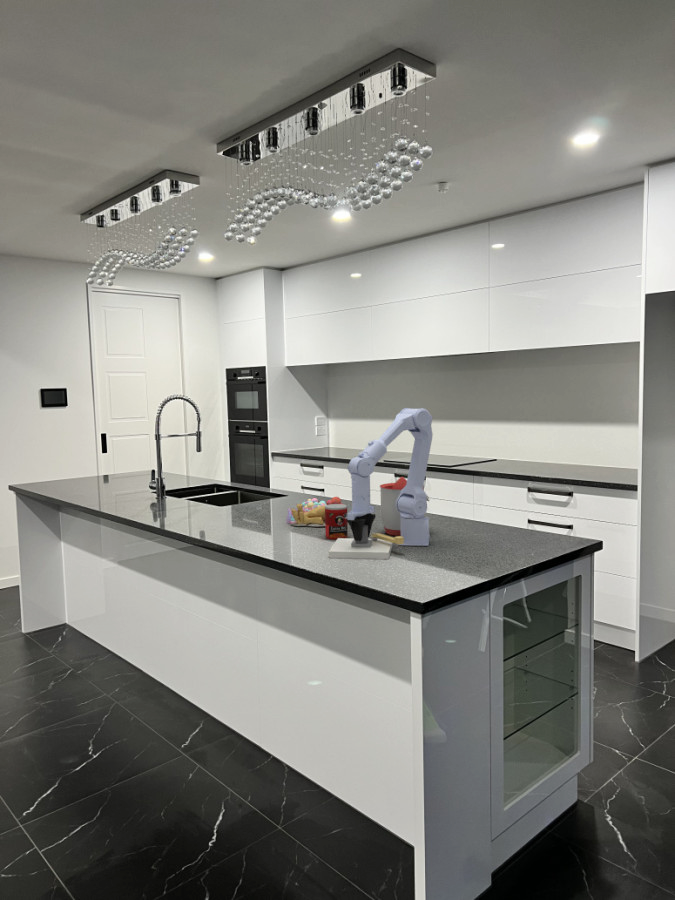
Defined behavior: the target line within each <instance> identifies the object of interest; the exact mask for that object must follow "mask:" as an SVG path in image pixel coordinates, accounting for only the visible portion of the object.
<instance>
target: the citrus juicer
mask: <svg viewBox="0 0 675 900" xmlns="http://www.w3.org/2000/svg"><path fill="white" fill-rule="evenodd" d="M406 484H407V479H406V478H405V477H404V476H401V477H399V478H398V479H397V480H396V481H395V482H389V483H388V482H387V483H382V484H380V485H379V488H380V516H381V517H380V518H381V520H382V521H381V522H382V525H383V528H384V531H385V533H386V535H387V534H388V535H389V536H390V537H398V536H401V516H400V512H399V511H398V510H397V508H396V501H397V499H398V497H399V496H400V492H401V490H402V489H403V488H404V487H405V486H406ZM424 485H425V484H424ZM424 485H423V490H424V489H425V488H424ZM424 491H425V490H424ZM413 497H414V496H413ZM426 501H427V502H430V501H431V499H430V498H429V496H428V495H427V500H426Z"/></svg>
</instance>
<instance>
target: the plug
mask: <svg viewBox="0 0 675 900" xmlns="http://www.w3.org/2000/svg"><path fill="white" fill-rule="evenodd" d="M368 539H369V537H368V525H363V531H362V540H361V541H355V540H353V541H352V543H351V547H371V545H372V540H368Z"/></svg>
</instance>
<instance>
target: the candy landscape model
mask: <svg viewBox="0 0 675 900" xmlns="http://www.w3.org/2000/svg"><path fill="white" fill-rule="evenodd" d="M330 504H342V499H341V498H340V497H339V496H333V497H332V498H331V499H328V500H326V501H325V500H318V498H316V497H313V498H312V499H311V498H308V499H307V501H303V502H302V503H297V504H296V509H294V508H291V507H287V517H286V523H287V524H288V525H289V524H290V525H291V526H296V527H301V526H308V527H325V506H326V505H330Z"/></svg>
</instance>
